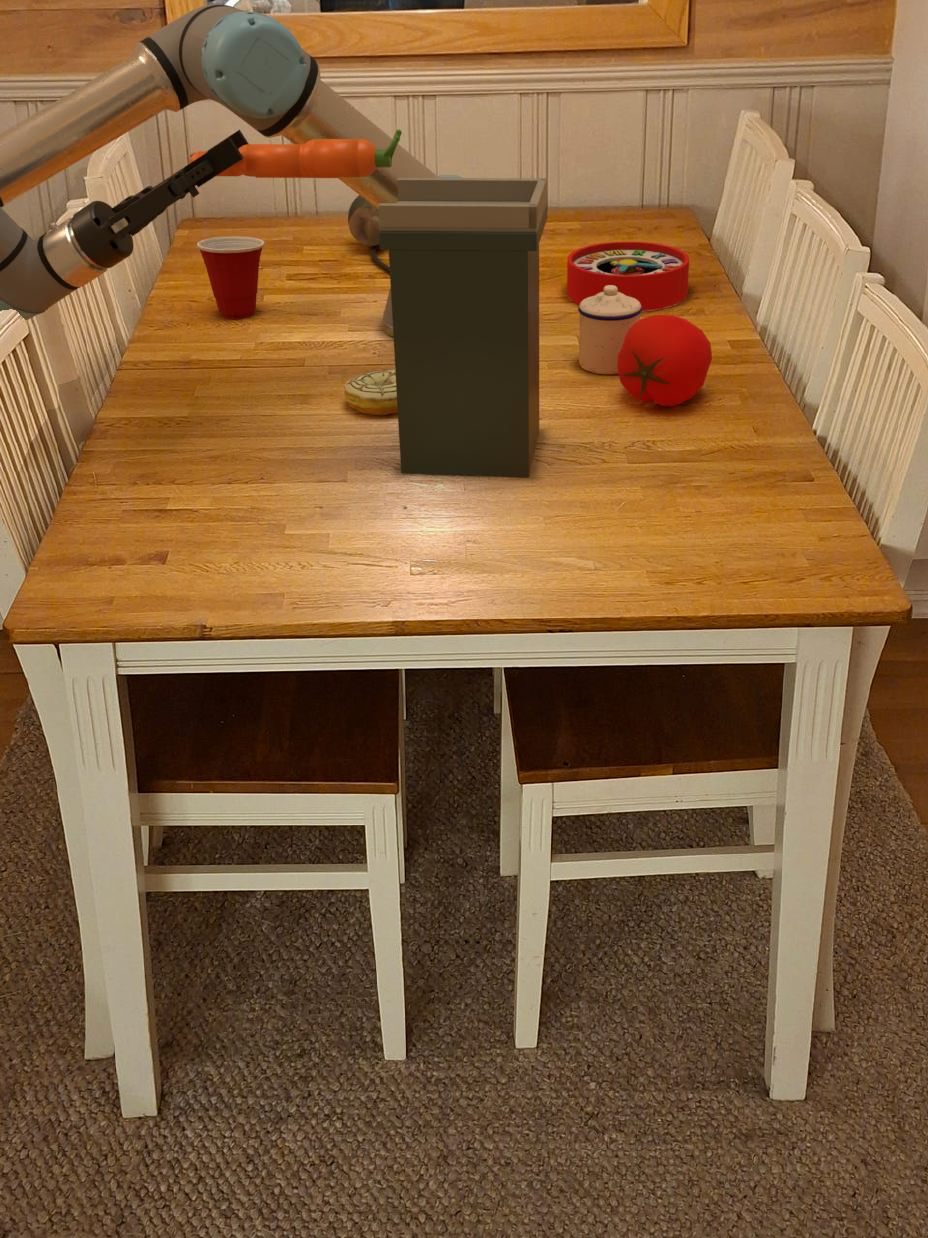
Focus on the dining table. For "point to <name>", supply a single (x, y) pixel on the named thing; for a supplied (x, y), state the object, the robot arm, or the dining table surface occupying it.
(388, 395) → the decorated donut
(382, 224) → the stand
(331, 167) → the carrot
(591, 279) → the toy clock
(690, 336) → the tomato
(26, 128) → the robot arm
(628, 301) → the teacup with lid
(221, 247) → the plastic cup
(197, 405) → the dining table surface
